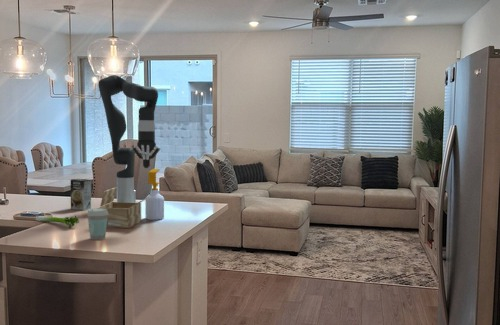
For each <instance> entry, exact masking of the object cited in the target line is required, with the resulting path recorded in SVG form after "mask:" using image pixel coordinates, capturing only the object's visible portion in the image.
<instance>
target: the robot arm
mask: <svg viewBox="0 0 500 325" xmlns="http://www.w3.org/2000/svg"><path fill="white" fill-rule="evenodd" d="M97 83H98V85H97V86H98V91H99V93H100V97H101V101H102V103H103V108H104V112H105V116H106V122H107V128H108V132H109V135H110V140H111V150H112V157H113V162H114V163H115V164H116V165H122V166H123V165H124V166H126V168H124V169H122V170H119V171H117V172H116V187H117V189H116V202H131V203H137V202H136V201H137V200H136V197H137V196H136V194H137V193H136V190H135V161H136V160H135V158H136V156H137V157H138V158H139V159H142V166H143V167H144V169H149V168H150V166H151V160H153V159H154V158H155V157H156V155H158V153H159V152H160V151H161V147H158V146H157V144H156V142H155V141H156V123H155V110H156V106H157V103H158V100H159V92H158V89H157V88H156V87H155V86H149V85H148V86H147V85H145V86H144V85H141V84H138V83H133V82H130V81H128V80H126V79H124V78H123V77H121V76H119V75H116V74H115V75H114V74H113V75H109V76H107V77H104V78H101V79H99V80H98V82H97ZM121 92H122V93H123V94H124V96H126V97H128V98H129V99H132V100H135V101H136V102H141V103H142V102H143V103H146V104H145V106H143V107H140V108H139V109H138V125H137V129H138V130H137V135H138V136H137V144H136V146H134V147H121V145H120V143H121V141H122V138H123V136H124V135H125V132H126V130H127V122H126V117H125V114H124V113H123V111H121V110H120V109H119V108H118V107H117V106H116V105H115V104H114V102H113V99H112V96H114V95H117V94H120V93H121ZM153 150H154V152H153ZM140 151H141V152H140ZM152 152H153V153H152Z"/></svg>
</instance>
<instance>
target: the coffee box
mask: <svg viewBox="0 0 500 325" xmlns="http://www.w3.org/2000/svg"><path fill="white" fill-rule="evenodd" d="M89 209H92V179H87V178H72V179H70V210H79V211H88V210H89Z"/></svg>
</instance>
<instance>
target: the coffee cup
mask: <svg viewBox="0 0 500 325" xmlns="http://www.w3.org/2000/svg"><path fill="white" fill-rule="evenodd" d="M86 216H87V222H88V229H89V237H90V240H93V241H102V240H104V239H105V240H106V236H107V235H106V234H107V227H106V226H107V216H108V211H107V209H104V208H100V207H97V208H95V207H94V208H91V209H88V210H87V212H86Z"/></svg>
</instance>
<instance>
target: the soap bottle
mask: <svg viewBox="0 0 500 325" xmlns="http://www.w3.org/2000/svg"><path fill="white" fill-rule="evenodd" d="M159 171H160V169H159V168H152V169H151V170H149V171H148V173H147V176H148V178H147V180H148V184H150V185H151V186H152V188H151V190H150V191H151V193H150V194H148V195H147V196H146V197H145V199H146V198H148V197H150V196H152V195H153V196H152V197H150V198H148V199H146V200H144V203H145V206H144V207H145V209H144V210H145V215H144V216H145V219H147V220H151V221H157V220H158V221H159V219H160V220H163V219H164V218H165V197H164V196H163V195H161V194H160V193H159V188H158V185H160V184H161V182H158V181H157V173H158V172H159Z"/></svg>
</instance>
